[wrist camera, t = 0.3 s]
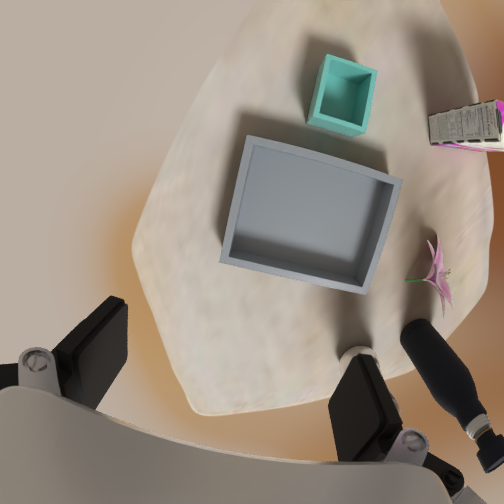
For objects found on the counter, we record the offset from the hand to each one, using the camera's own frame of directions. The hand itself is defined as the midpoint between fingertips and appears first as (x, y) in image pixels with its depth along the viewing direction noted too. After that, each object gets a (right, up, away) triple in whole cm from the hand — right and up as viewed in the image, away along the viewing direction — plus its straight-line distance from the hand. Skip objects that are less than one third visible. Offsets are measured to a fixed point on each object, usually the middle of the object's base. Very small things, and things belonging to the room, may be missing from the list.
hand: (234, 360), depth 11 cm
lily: (+28, +2, +29) cm, 41 cm away
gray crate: (+8, +9, +28) cm, 30 cm away
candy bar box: (+32, +23, +23) cm, 45 cm away
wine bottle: (+29, -10, +33) cm, 45 cm away
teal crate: (+12, +24, +23) cm, 36 cm away
